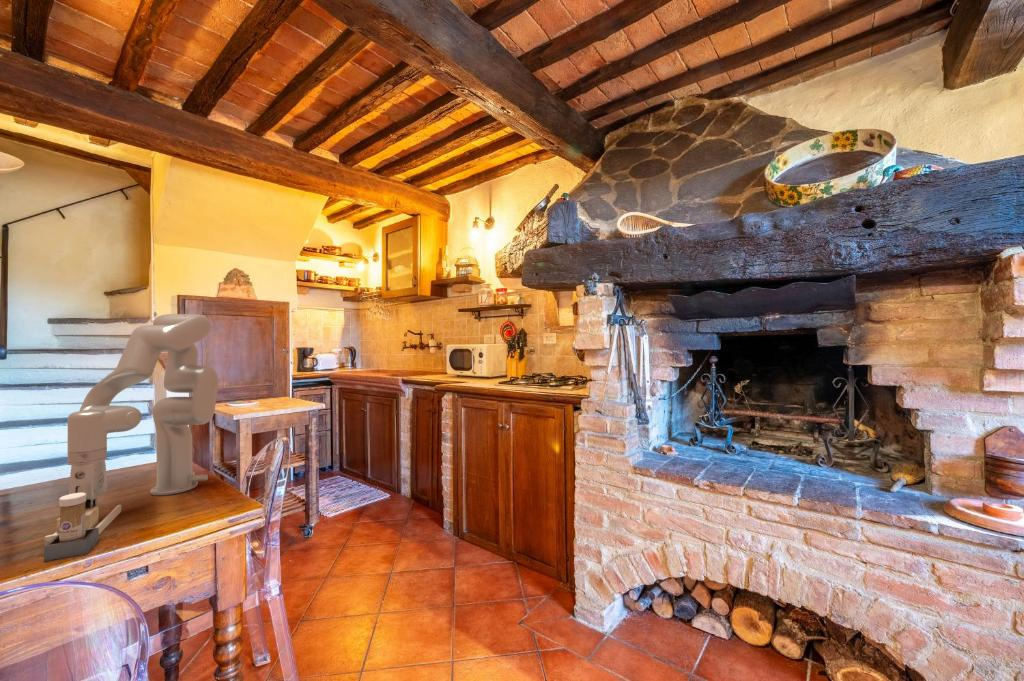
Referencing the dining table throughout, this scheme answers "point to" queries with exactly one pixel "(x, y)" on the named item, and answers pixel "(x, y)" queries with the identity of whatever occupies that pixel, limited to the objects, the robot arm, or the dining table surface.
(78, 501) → the sprinkles bottle
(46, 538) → the bay
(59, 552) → the winch socket
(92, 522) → the cardboard box
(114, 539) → the dining table surface
